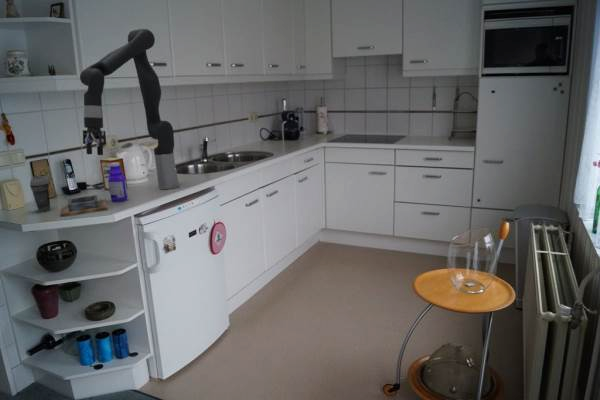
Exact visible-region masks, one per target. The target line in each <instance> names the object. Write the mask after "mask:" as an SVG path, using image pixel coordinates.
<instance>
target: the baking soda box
mask: <svg viewBox="0 0 600 400" xmlns="http://www.w3.org/2000/svg"><path fill="white" fill-rule="evenodd" d="M99 162H100V164H99V165H100V169H101V176H102V181H103V187H104V188H103V189H104V191H109V192H110V189H109V182H108V180H109V176H110V174H109V172H110V163H115V162H118V163H119V164H120V169H121V170H122V172H123V173H122V174H123V176H124V177H125V180H126V187H127V188H128V184H127V177H126V169H125V163H124V158H123V157H108V158H103V159H99Z"/></svg>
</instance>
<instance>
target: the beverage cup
mask: <svg viewBox="0 0 600 400" xmlns="http://www.w3.org/2000/svg"><path fill="white" fill-rule="evenodd" d="M29 184H30V185H29V187H30V189H31V191H32V194H33V196H34V197H33V198H34V201H35V204H36V207H37V210H38V212H39V213H45V212H49V211H51V202H50V201H51V200H50V190H49V188H50V186H49V184H50V183H49V180H48V179H47V178H46V177H45V176H44V175H40V166H39V165H37V175H34V176H33V177H32V178H31V179H30V183H29Z"/></svg>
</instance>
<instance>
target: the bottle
mask: <svg viewBox="0 0 600 400" xmlns="http://www.w3.org/2000/svg"><path fill="white" fill-rule="evenodd" d="M122 173H123V172H122V170H121V169H120V164H119V163H118V162H115V163H110V172H109V174H110V176H109V180H108V182H109V189H110V191H109V195H110V200H111V201H112V202H125V201H127V200H128V194H129V193H128V186H127V187H126V182H127V179H126V180H125V177H124V176H123V174H122Z"/></svg>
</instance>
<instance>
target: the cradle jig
mask: <svg viewBox="0 0 600 400" xmlns="http://www.w3.org/2000/svg"><path fill="white" fill-rule="evenodd" d="M103 211H108V205H107V201H106V199H99V200H98V195H96V194H94V195H88V196H87V195H86V196H78V197H74V198H73V197H72V198H68V203H67V204H64V205H61V209H60V215H59V216H60V218H62V217H63V218H64V217H71V216H76V215H83V214H89V213H90V212H91V213H96V212H103Z"/></svg>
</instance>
